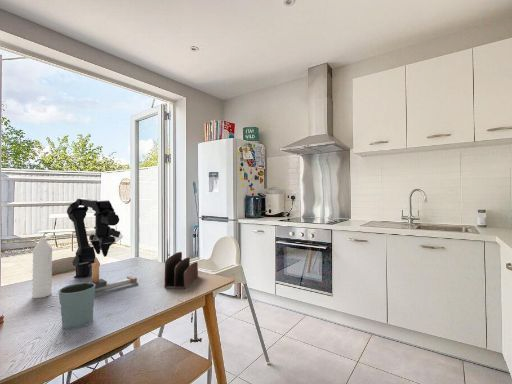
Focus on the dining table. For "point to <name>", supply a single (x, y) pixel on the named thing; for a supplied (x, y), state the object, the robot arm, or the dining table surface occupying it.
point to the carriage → (97, 277)
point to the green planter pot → (77, 305)
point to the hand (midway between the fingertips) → (101, 255)
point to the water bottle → (42, 269)
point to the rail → (116, 286)
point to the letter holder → (179, 272)
